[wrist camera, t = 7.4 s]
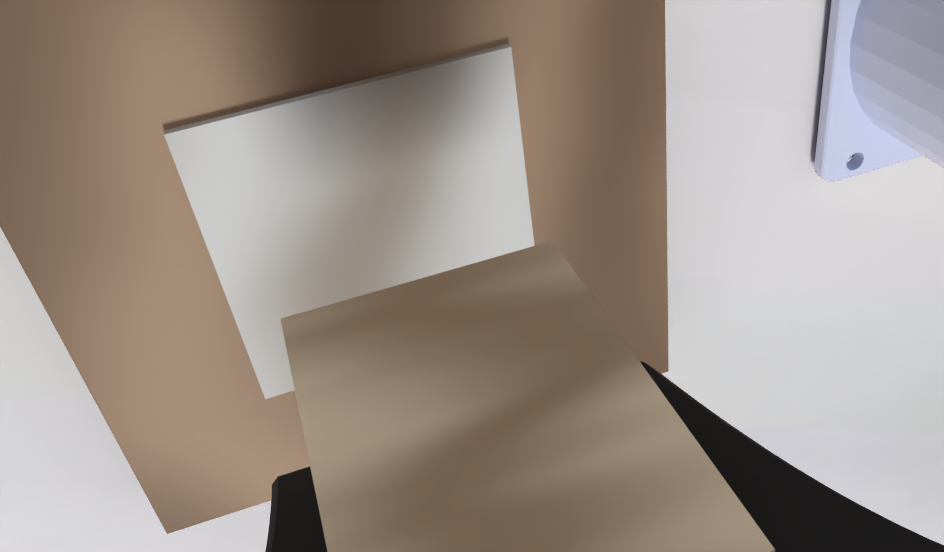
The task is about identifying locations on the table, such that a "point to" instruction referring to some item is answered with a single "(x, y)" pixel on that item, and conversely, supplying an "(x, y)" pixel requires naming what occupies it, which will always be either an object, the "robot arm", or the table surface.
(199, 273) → the walnut base
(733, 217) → the table surface
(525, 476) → the maple block
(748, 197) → the table surface
